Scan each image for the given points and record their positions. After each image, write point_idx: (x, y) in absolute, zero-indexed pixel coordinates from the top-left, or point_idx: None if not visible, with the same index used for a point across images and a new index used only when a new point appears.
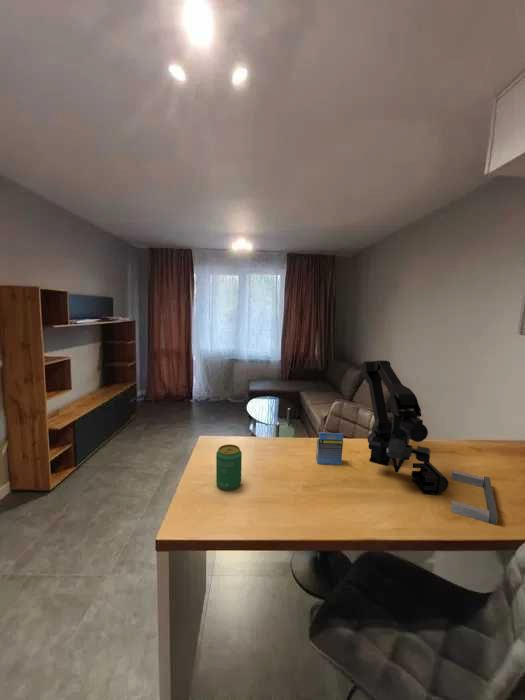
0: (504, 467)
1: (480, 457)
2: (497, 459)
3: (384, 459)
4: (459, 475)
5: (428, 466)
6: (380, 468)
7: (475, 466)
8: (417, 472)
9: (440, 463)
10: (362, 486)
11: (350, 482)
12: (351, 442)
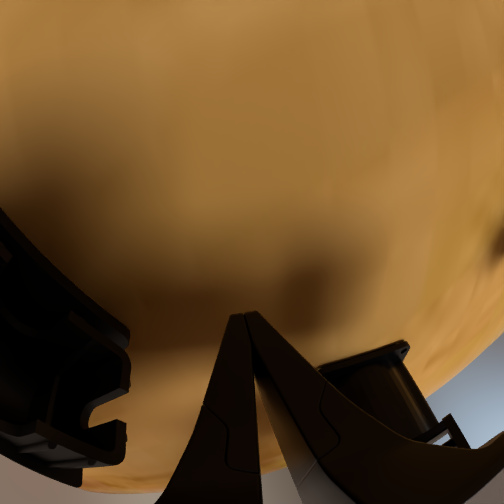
0: None
1: (83, 473)
2: None
3: (343, 393)
4: None
5: (14, 446)
6: (356, 321)
7: None
8: (95, 391)
9: None
10: (439, 6)
11: (489, 42)
12: (432, 385)
